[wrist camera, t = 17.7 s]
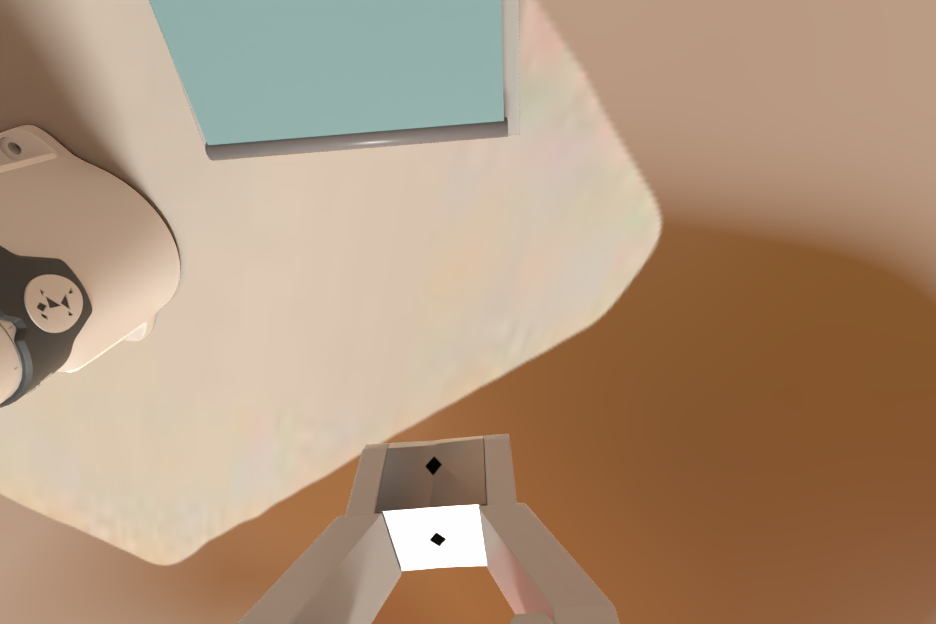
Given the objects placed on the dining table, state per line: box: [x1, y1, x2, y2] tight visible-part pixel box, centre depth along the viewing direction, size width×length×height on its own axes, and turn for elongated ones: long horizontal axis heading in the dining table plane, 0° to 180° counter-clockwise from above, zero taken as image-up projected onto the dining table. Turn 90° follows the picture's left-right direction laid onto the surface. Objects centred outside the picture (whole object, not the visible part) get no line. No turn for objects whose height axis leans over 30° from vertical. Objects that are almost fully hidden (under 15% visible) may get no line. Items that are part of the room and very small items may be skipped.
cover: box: [149, 0, 508, 161], centre depth 21 cm, size 16×12×1 cm
